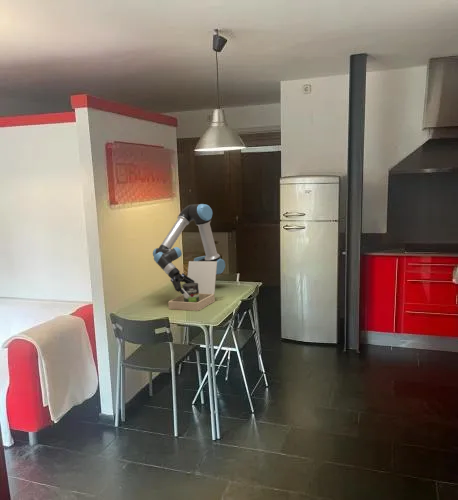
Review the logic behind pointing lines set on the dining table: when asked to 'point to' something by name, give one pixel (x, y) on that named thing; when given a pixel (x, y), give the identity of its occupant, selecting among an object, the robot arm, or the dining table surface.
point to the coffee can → (191, 292)
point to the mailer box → (199, 286)
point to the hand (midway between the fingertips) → (193, 294)
